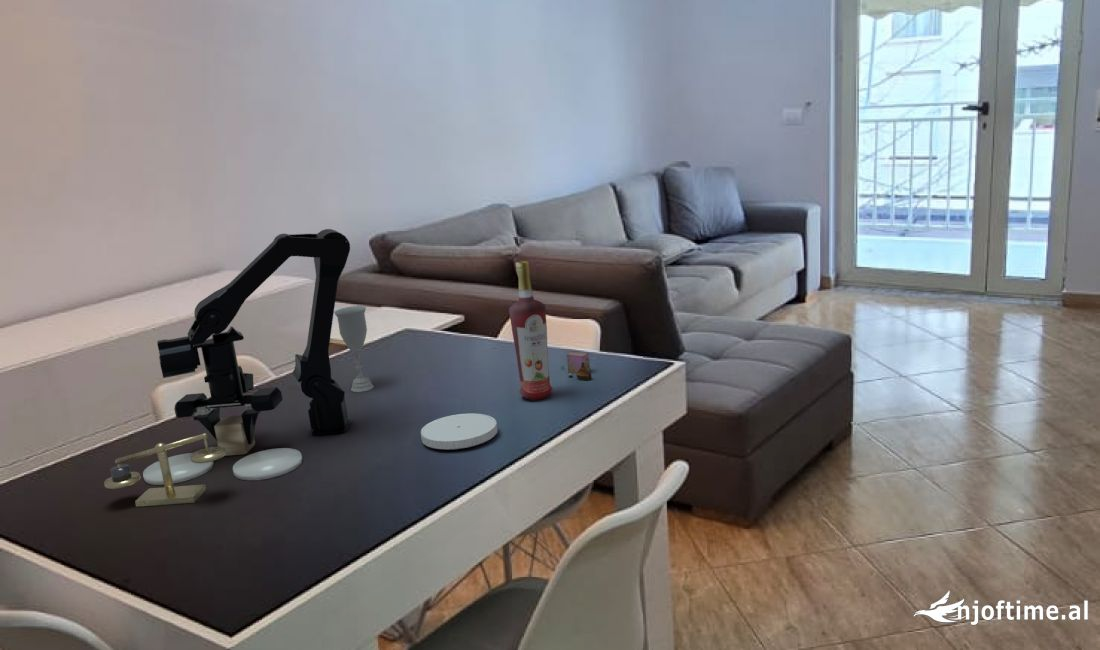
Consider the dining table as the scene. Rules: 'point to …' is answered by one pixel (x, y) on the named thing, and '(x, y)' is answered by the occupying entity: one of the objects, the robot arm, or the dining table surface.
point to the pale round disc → (177, 470)
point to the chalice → (354, 340)
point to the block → (232, 435)
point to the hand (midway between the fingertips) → (237, 444)
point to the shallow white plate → (267, 464)
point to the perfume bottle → (579, 365)
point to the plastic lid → (459, 431)
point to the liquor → (530, 338)
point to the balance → (164, 474)
